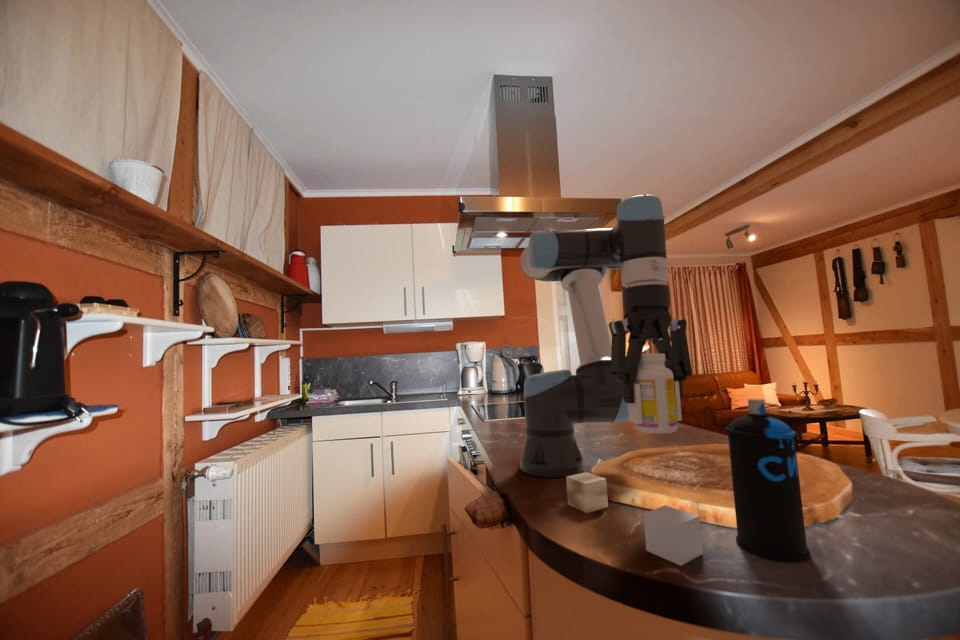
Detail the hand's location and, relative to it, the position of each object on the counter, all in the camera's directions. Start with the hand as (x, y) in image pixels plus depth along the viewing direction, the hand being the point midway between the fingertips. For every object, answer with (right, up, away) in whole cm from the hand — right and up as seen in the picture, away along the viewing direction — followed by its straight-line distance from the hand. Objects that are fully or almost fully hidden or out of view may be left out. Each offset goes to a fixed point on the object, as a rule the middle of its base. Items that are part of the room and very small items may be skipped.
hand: (655, 420), depth 67 cm
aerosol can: (+10, -14, -13) cm, 22 cm away
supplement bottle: (0, -2, 0) cm, 2 cm away
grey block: (-3, -15, -13) cm, 20 cm away
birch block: (-10, -17, +5) cm, 20 cm away
